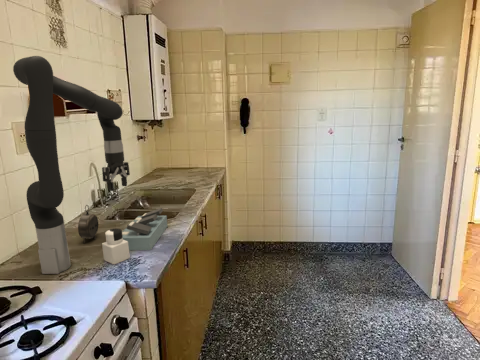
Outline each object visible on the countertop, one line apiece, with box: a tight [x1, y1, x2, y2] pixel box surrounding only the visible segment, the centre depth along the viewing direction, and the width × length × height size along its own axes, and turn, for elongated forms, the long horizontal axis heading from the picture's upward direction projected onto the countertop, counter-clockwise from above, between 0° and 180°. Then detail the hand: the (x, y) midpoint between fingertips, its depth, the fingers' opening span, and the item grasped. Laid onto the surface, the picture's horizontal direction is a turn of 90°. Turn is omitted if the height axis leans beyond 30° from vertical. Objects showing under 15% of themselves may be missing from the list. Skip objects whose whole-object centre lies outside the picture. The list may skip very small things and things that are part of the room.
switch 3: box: [126, 220, 152, 235], centre depth 144 cm, size 5×9×2 cm, turn 87°
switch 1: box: [141, 207, 164, 219], centre depth 162 cm, size 5×9×2 cm, turn 87°
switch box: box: [122, 215, 168, 251], centre depth 154 cm, size 27×14×7 cm, turn 177°
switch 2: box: [136, 214, 158, 225], centre depth 153 cm, size 5×9×2 cm, turn 87°
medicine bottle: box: [101, 228, 131, 265], centre depth 133 cm, size 7×7×12 cm
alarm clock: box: [77, 204, 99, 244], centre depth 153 cm, size 11×5×16 cm, turn 177°
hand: (118, 188), depth 148 cm, fingers open, 8 cm apart
